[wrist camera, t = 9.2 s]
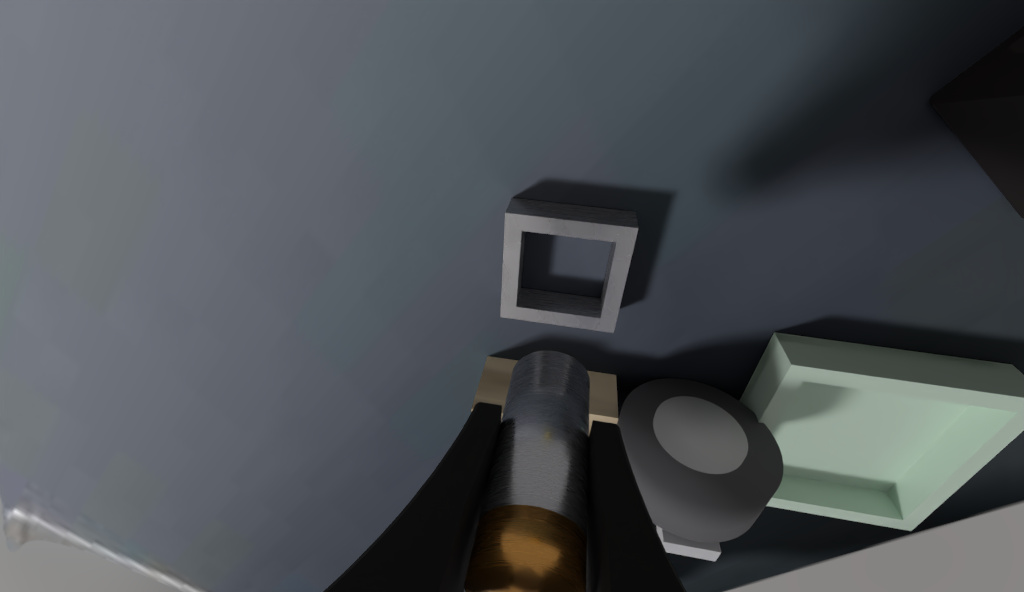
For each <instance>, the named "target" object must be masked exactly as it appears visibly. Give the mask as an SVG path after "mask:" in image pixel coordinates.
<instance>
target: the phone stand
mask: <svg viewBox="0 0 1024 592" xmlns="http://www.w3.org/2000/svg"><path fill="white" fill-rule="evenodd" d="M930 103H931V104H932V106H933V107H934V108H935V109H936V111H937V112H938V113H939V114H940V116H941V117H942V118H943V119H944V121H945V122H946V123H947V125H948V126H949V127H950V128H951V130H952V131H953V132H954V133H955V135H956V136H957V137H958V138H959V140H960V141H961V142H962V143H963V145H964V146H965V147H966V148H967V150H968V151H969V152H970V153H971V155H972V156H973V157H974V158H975V160H976V161H977V162H978V164H979V165H980V166H981V167H982V169H983V170H984V171H985V172H986V174H987V175H988V176H989V177H990V179H991V180H992V181H993V182H994V184H995V185H996V186H997V187H998V189H999V190H1000V191H1001V192H1002V194H1003V195H1004V196H1005V197H1006V199H1007V200H1008V201H1009V202H1010V204H1011V205H1012V206H1013V208H1014V209H1015V210H1016V211H1017V213H1018V214H1019V215H1020V216H1021V217H1022V218H1024V27H1023V28H1022V29H1020V30H1019V31H1018V32H1016V33H1015V34H1014V35H1012V36H1011V37H1010V38H1008V39H1007V40H1006V41H1004V42H1003V43H1002V44H1000V45H999V46H998V47H996V48H995V49H994V50H992V51H991V52H990V53H988V54H987V55H986V56H984V57H983V58H982V59H980V60H979V61H978V62H976V63H975V64H974V65H972V66H971V67H970V68H968V69H967V70H966V71H964V72H963V73H962V74H960V75H959V76H958V77H956V78H955V79H954V80H952V81H951V82H950V83H948V84H947V85H946V86H945V87H943V88H942V89H941V90H939V91H938V92H937V93H935V94H934V95H933V96H932V97H931V99H930Z"/></svg>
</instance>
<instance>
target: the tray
mask: <svg viewBox="0 0 1024 592" xmlns="http://www.w3.org/2000/svg"><path fill="white" fill-rule="evenodd" d="M739 401H740V402H741V403H743V404H744V405H745V406H747V407H748V408H749V409H750V410H752V411H753V412H754V413H755V414H756V417H757V419H758V422H760V423H764V424H765V425H766V426H767V427H768V429H769V430H770V431H771V433H772V435H773V436H774V438H775V440H776V442H777V444H778V446H779V448H780V451H781V454H782V459H783V477H782V481H781V484H780V486H779V488H778V489H777V491H776V492H775V494H774V495H773V497H772V498H771V499H770V501H769V502H768V504H767V505H766V506H770V507H776V508H781V509H787V510H793V511H799V512H804V513H810V514H816V515H822V516H827V517H833V518H839V519H845V520H850V521H856V522H862V523H867V524H873V525H879V526H885V527H890V528H896V529H902V530H908V531H912V530H913V529H914V528H915V527H917V526H918V525H919V524H920V523H921V522H922V521H923V520H924V519H925V518H927V517H928V516H929V515H930V514H931V513H932V512H933V511H934V510H935V509H937V508H938V507H939V506H940V505H941V504H942V503H943V502H944V501H945V500H947V499H948V498H949V497H950V496H951V495H952V494H953V493H954V492H955V491H957V490H958V489H959V488H960V487H961V486H962V485H963V484H964V483H966V482H967V481H968V480H969V479H970V478H971V477H972V476H973V475H974V474H976V473H977V472H978V471H979V470H980V469H981V468H982V467H983V466H984V465H986V464H987V463H988V462H989V461H990V460H991V459H992V458H993V457H994V456H996V455H997V454H998V453H999V452H1000V451H1001V450H1002V449H1003V448H1004V447H1006V446H1007V445H1008V444H1009V443H1010V442H1011V441H1012V440H1013V439H1014V438H1016V437H1017V436H1018V435H1019V434H1020V433H1021V432H1022V431H1023V430H1024V375H1023V374H1022V373H1021V372H1020V371H1019V370H1018V369H1017V368H1016V367H1014V366H1013V365H1012V364H1005V363H997V362H990V361H983V360H975V359H968V358H960V357H953V356H946V355H938V354H931V353H923V352H916V351H909V350H901V349H894V348H887V347H879V346H872V345H864V344H857V343H850V342H842V341H835V340H827V339H820V338H813V337H805V336H798V335H790V334H783V333H776V332H774V334H773V336H772V338H771V340H770V342H769V343H768V345H767V347H766V349H765V351H764V353H763V355H762V357H761V359H760V361H759V363H758V365H757V367H756V369H755V371H754V373H753V375H752V377H751V379H750V381H749V383H748V385H747V387H746V389H745V391H744V393H743V395H742V397H741V398H740V400H739Z"/></svg>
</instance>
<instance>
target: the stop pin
mask: <svg viewBox="0 0 1024 592" xmlns="http://www.w3.org/2000/svg"><path fill="white" fill-rule="evenodd" d="M589 404H590V378H589V374H588V372H587V370H586V369H585V367H584V366H583V365H582V364H581V363H580V362H579V361H578V360H576V359H575V358H573V357H571V356H569V355H567V354H564V353H561V352H557V351H537V352H533V353H530V354H528V355H526V356H524V357H522V358H521V359H520V360H519V361H518V362H517V363H516V364H515V366H514V368H513V371H512V376H511V380H510V384H509V389H508V393H507V398H506V402H505V406H504V411H503V415H502V420H501V426H500V430H499V434H498V439H497V443H496V448H495V452H494V456H493V460H492V464H491V468H490V472H489V477H488V481H487V486H486V490H485V494H484V499H483V503H482V508H481V512H480V516H479V521H478V525H477V529H476V534H475V538H474V543H473V547H472V551H471V556H470V560H469V565H468V569H467V573H466V578H465V582H464V588H465V591H466V592H586V565H587V511H588V446H589Z"/></svg>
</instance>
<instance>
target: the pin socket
mask: <svg viewBox="0 0 1024 592" xmlns="http://www.w3.org/2000/svg"><path fill="white" fill-rule="evenodd" d="M638 229H639V228H638V222H637V217H636V212H634V211H625V210H616V209H607V208H598V207H589V206H580V205H571V204H562V203H553V202H545V201H536V200H527V199H518V198H511V201H510V203H509V205H508V208H507V210H506V212H505V231H504V252H503V273H502V295H501V316H500V317H504V318H511V319H518V320H526V321H533V322H540V323H547V324H554V325H561V326H568V327H575V328H582V329H590V330H597V331H604V332H611V333H614V329H615V325H616V321H617V317H618V312H619V308H620V304H621V300H622V296H623V291H624V287H625V283H626V279H627V275H628V271H629V266H630V262H631V258H632V254H633V250H634V245H635V241H636V237H637V233H638ZM526 232H535V233H543V234H551V235H560V236H568V237H576V238H585V239H593V240H602V241H610V242H612V244H611V249H610V254H609V259H608V264H607V268H606V273H605V278H604V283H603V288H602V293H601V298H594V297H587V296H579V295H572V294H564V293H557V292H549V291H542V290H534V289H527V288H521V284H522V271H523V258H524V245H525V233H526Z"/></svg>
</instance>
